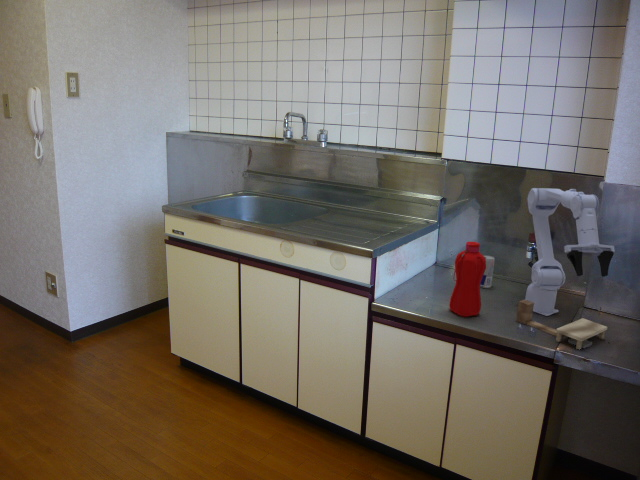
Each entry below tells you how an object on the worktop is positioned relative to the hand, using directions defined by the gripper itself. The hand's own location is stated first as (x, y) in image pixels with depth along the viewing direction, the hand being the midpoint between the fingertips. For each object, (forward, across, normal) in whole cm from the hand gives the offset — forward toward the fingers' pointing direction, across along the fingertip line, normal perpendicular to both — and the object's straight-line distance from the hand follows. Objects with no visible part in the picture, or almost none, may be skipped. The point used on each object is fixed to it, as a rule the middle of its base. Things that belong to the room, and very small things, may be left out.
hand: (592, 275), depth 164 cm
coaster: (+20, -1, +9) cm, 22 cm away
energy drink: (-5, -15, +53) cm, 55 cm away
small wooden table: (+18, 0, +12) cm, 22 cm away
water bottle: (+8, -32, +28) cm, 43 cm away
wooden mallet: (+14, -10, +19) cm, 25 cm away
